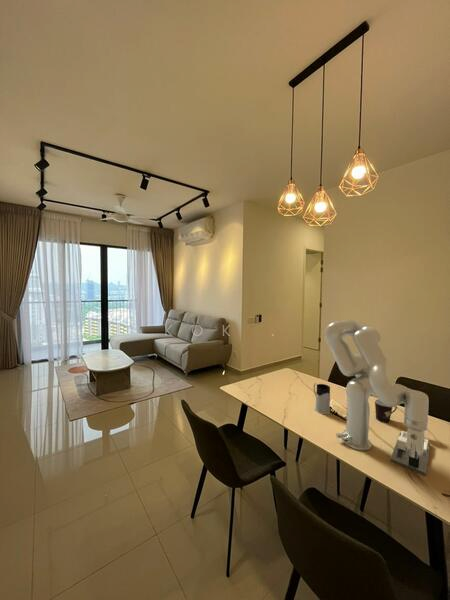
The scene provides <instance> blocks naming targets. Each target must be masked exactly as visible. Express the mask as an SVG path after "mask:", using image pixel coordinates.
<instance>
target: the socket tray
mask: <svg viewBox="0 0 450 600" xmlns="http://www.w3.org/2000/svg"><path fill="white" fill-rule="evenodd" d="M400 433H401V436H402V437H404V438H407V431H404V430H402V431H401V432H400ZM428 442H429V439H427V438H425V437H424V450H423V452H424V453H426V451H427V445H428Z"/></svg>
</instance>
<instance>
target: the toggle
mask: <svg viewBox="0 0 450 600" xmlns="http://www.w3.org/2000/svg"><path fill="white" fill-rule="evenodd" d="M398 437H399V438H397V440H398V444H397V448H399V449H402V450H404V451H405V450H406V446H407V438H404V437H402V436H399V435H398Z"/></svg>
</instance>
